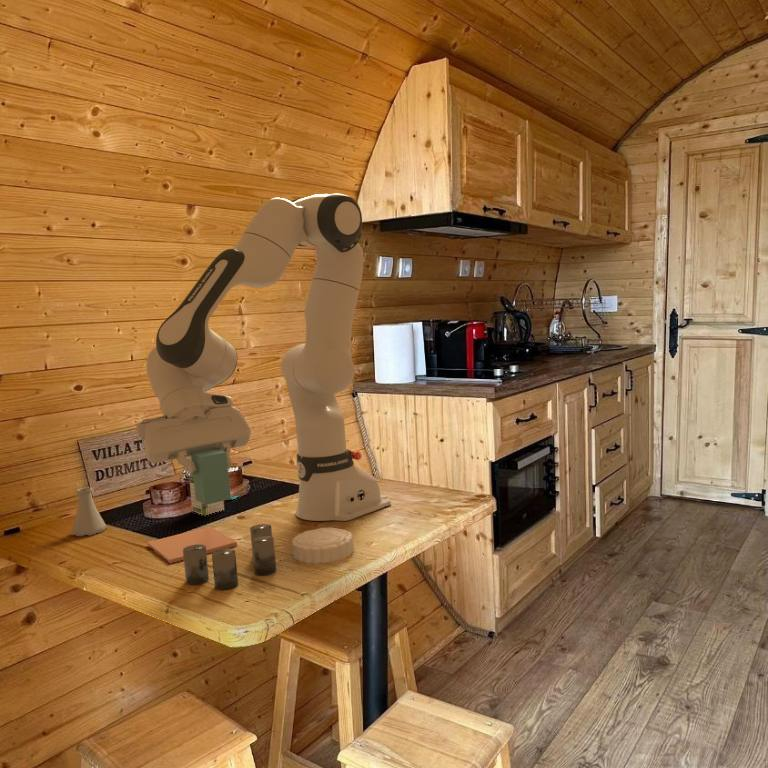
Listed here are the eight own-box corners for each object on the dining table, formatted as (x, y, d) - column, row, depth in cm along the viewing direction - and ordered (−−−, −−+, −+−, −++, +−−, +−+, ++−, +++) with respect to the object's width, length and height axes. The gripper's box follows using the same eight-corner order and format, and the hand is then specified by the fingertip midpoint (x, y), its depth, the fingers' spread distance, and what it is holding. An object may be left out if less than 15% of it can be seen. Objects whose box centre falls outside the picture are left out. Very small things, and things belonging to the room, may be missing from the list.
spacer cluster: (267, 551, 139) (265, 522, 138) (297, 568, 129) (294, 537, 129) (179, 577, 129) (175, 545, 128) (203, 597, 119) (200, 563, 118)
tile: (211, 529, 155) (210, 526, 155) (237, 545, 144) (236, 541, 144) (147, 545, 147) (147, 542, 147) (169, 563, 136) (169, 559, 136)
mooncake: (280, 555, 137) (278, 538, 137) (327, 538, 146) (325, 521, 145) (319, 569, 129) (318, 550, 128) (366, 550, 137) (365, 532, 137)
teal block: (220, 493, 136) (215, 448, 135) (231, 498, 132) (226, 452, 131) (195, 499, 133) (190, 453, 132) (205, 504, 129) (200, 457, 128)
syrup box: (191, 513, 169) (185, 454, 167) (212, 506, 173) (207, 449, 172) (204, 516, 165) (198, 456, 163) (225, 510, 170) (220, 451, 168)
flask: (94, 537, 155) (88, 493, 154) (65, 537, 156) (59, 493, 155) (112, 526, 162) (108, 484, 161) (84, 526, 164) (79, 485, 162)
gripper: (135, 410, 130) (158, 470, 123) (238, 395, 142) (264, 449, 135) (131, 431, 134) (153, 490, 128) (231, 414, 146) (256, 468, 139)
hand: (211, 469), depth 131 cm, fingers closed on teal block, 5 cm apart
